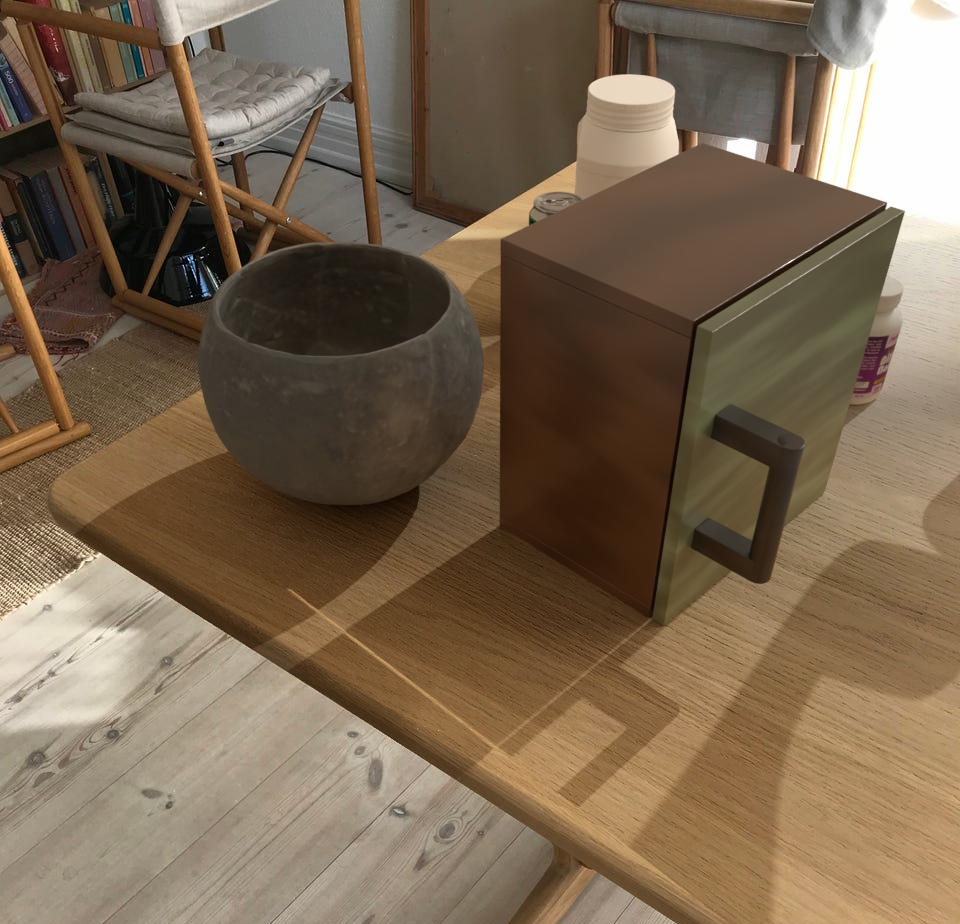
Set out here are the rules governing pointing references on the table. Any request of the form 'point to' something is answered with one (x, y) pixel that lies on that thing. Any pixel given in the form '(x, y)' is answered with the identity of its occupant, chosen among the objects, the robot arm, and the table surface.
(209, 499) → the table surface
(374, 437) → the bowl
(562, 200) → the soda can
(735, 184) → the cupboard
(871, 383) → the pill bottle
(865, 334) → the door
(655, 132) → the jar
